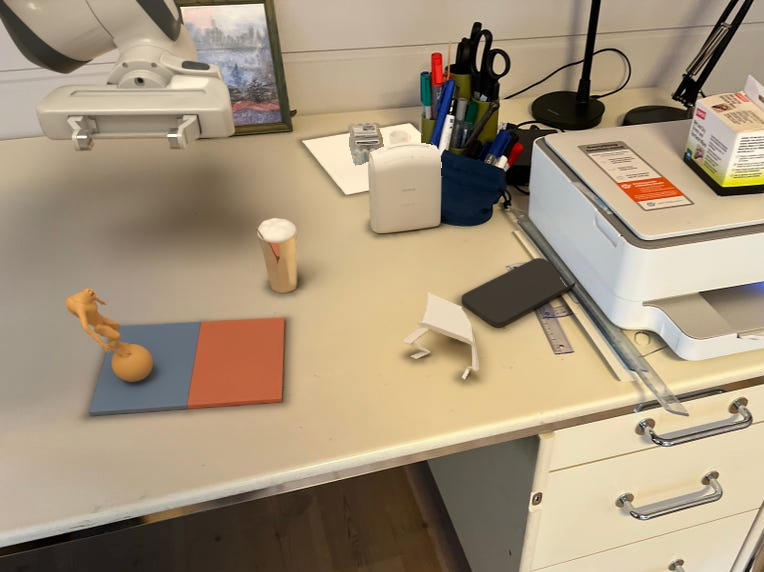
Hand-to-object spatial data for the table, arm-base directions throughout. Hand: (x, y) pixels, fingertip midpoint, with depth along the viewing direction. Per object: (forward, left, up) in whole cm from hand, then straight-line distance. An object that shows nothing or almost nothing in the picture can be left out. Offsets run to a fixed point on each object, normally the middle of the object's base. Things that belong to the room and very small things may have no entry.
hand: (128, 143), depth 79 cm
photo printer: (+31, +15, -20) cm, 40 cm away
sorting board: (+5, -13, -20) cm, 24 cm away
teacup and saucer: (+29, +37, -20) cm, 51 cm away
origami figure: (+33, -14, -20) cm, 41 cm away
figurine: (-2, -15, -20) cm, 25 cm away
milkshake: (+14, +1, -20) cm, 24 cm away
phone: (+44, -3, -20) cm, 48 cm away
